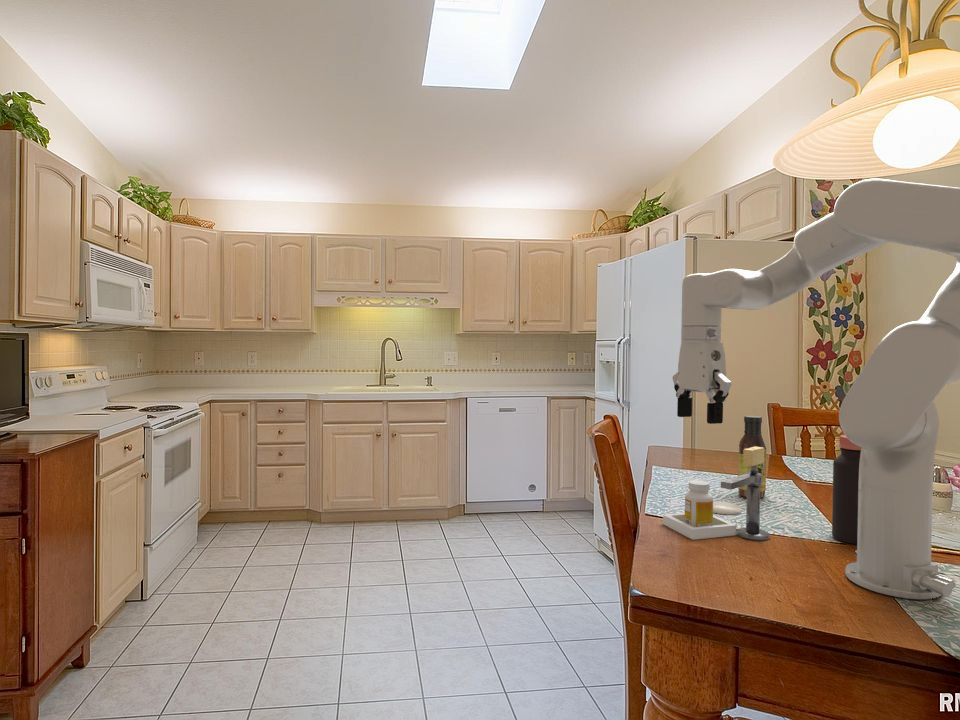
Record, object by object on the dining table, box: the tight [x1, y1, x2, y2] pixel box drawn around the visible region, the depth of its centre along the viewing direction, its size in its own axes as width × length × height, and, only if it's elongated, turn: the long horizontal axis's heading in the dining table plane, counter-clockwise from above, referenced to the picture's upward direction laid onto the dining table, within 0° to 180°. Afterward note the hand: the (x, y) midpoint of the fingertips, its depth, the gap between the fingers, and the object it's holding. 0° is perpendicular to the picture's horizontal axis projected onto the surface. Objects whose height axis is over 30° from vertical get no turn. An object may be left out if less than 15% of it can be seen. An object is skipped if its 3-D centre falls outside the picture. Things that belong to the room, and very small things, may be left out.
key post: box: [735, 484, 771, 542], centre depth 115 cm, size 6×6×10 cm
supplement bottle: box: [684, 479, 714, 527], centre depth 118 cm, size 5×5×10 cm
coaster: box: [713, 500, 742, 515], centre depth 133 cm, size 8×8×1 cm
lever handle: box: [720, 446, 764, 491], centre depth 112 cm, size 3×14×7 cm, turn 130°
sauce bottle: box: [737, 415, 767, 499], centre depth 144 cm, size 7×6×20 cm
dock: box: [662, 512, 737, 541], centre depth 118 cm, size 10×10×2 cm
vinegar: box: [831, 434, 862, 546], centre depth 112 cm, size 7×7×20 cm
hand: (699, 419), depth 118 cm, fingers open, 9 cm apart
